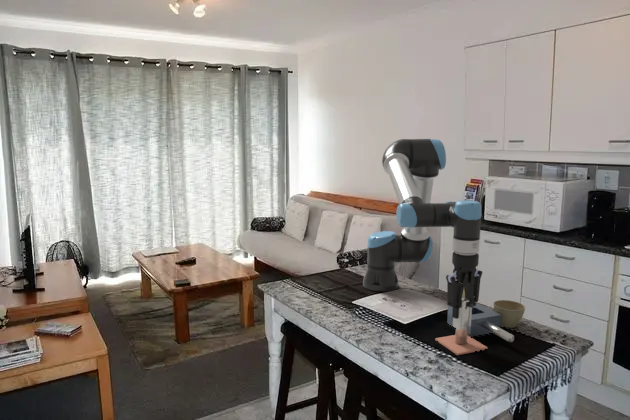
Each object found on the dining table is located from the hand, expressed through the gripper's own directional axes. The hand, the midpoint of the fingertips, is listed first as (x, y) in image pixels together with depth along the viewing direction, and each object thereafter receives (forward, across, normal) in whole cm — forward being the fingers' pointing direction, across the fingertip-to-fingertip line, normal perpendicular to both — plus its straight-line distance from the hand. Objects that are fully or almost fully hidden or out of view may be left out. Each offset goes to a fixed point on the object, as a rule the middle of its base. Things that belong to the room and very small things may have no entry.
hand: (461, 326), depth 142 cm
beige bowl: (+6, +26, +2) cm, 27 cm away
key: (+5, 0, 0) cm, 5 cm away
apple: (+6, +25, +21) cm, 33 cm away
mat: (+6, 0, 0) cm, 6 cm away
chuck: (+6, +12, +1) cm, 14 cm away
